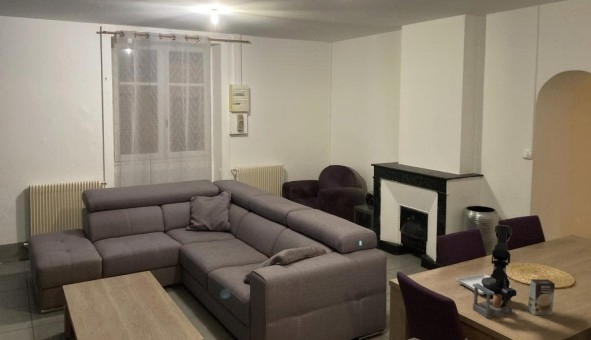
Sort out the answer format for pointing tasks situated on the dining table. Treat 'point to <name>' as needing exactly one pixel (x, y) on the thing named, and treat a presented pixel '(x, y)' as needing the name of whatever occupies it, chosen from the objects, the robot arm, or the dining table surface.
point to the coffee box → (541, 297)
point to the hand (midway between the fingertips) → (497, 303)
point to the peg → (497, 300)
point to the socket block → (488, 304)
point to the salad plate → (473, 281)
